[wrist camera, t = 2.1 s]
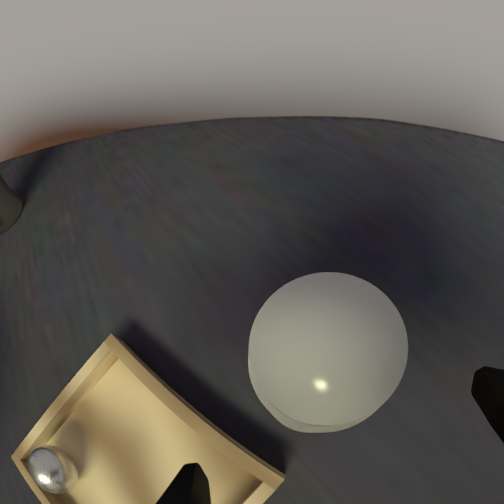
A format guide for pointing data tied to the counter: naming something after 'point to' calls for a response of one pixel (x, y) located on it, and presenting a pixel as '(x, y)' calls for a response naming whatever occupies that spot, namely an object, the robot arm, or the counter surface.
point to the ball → (52, 469)
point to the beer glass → (8, 206)
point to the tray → (138, 438)
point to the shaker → (326, 352)
